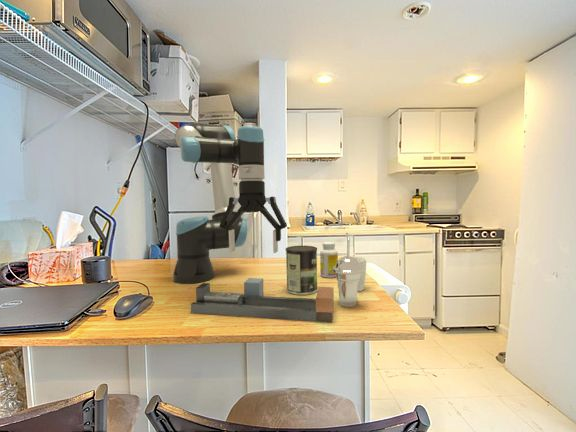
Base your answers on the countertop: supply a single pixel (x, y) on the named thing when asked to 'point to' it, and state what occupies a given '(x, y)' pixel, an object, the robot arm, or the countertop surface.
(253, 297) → the channel
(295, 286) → the coffee can
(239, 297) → the silver metal slider block
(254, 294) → the block
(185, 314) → the countertop surface
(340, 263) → the cup with straw
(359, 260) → the white cup
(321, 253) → the supplement bottle
